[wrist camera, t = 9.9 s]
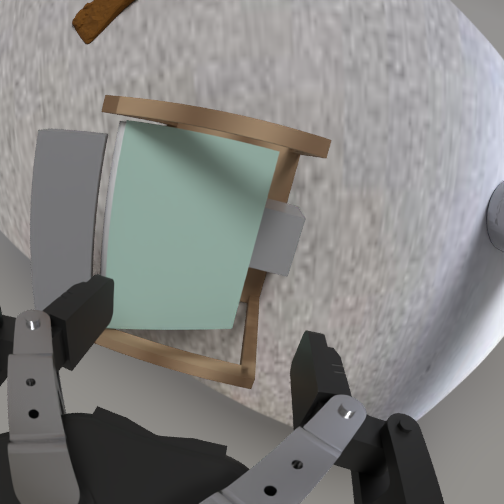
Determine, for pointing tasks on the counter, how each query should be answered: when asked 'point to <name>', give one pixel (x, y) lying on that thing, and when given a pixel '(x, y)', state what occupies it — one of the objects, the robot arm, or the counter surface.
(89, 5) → the primitive tool
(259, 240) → the stone
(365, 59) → the counter surface
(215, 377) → the wooden box frame
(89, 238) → the trapdoor
